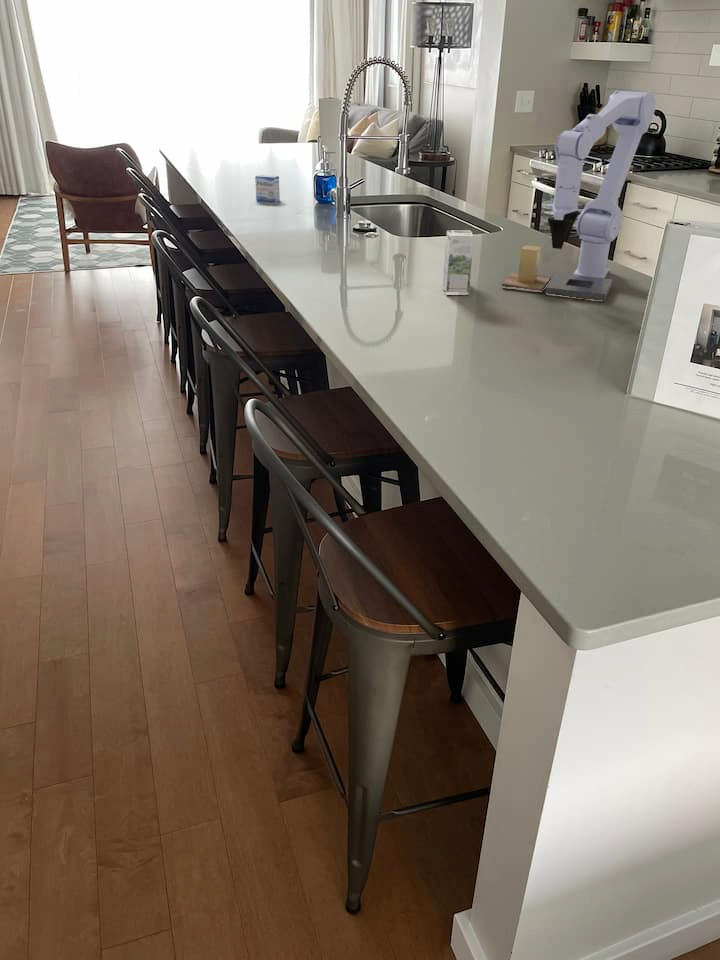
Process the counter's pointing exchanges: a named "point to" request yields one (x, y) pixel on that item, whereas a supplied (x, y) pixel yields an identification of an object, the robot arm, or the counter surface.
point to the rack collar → (579, 286)
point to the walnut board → (537, 285)
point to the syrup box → (458, 260)
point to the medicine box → (267, 188)
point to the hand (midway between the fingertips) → (560, 244)
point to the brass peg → (529, 264)
